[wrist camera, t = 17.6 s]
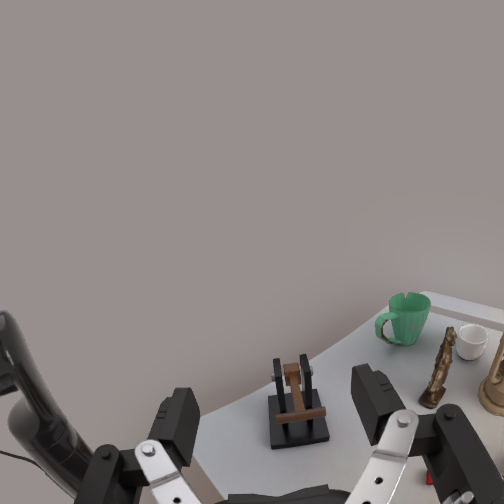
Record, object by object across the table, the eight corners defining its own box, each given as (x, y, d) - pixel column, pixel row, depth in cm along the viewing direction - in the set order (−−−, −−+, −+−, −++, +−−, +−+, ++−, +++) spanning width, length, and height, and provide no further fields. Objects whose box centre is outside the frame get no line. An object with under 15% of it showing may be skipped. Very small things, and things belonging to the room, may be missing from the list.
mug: (406, 324, 59) (409, 288, 57) (433, 339, 50) (439, 301, 48) (362, 346, 56) (363, 308, 54) (388, 367, 47) (393, 326, 44)
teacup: (487, 360, 36) (494, 339, 35) (459, 368, 38) (466, 346, 37) (472, 336, 45) (476, 316, 44) (446, 342, 47) (450, 321, 46)
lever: (326, 421, 25) (325, 405, 25) (277, 430, 25) (274, 414, 25) (309, 373, 38) (308, 360, 38) (274, 379, 38) (272, 366, 38)
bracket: (329, 440, 33) (331, 386, 30) (271, 449, 34) (260, 397, 31) (316, 393, 45) (314, 338, 42) (268, 400, 45) (259, 346, 42)
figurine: (429, 416, 31) (451, 345, 27) (412, 408, 34) (429, 338, 31) (446, 390, 35) (465, 320, 31) (430, 384, 38) (445, 315, 34)
